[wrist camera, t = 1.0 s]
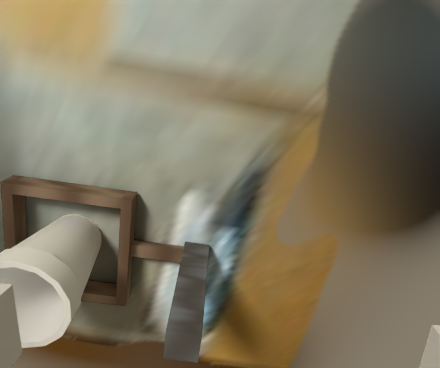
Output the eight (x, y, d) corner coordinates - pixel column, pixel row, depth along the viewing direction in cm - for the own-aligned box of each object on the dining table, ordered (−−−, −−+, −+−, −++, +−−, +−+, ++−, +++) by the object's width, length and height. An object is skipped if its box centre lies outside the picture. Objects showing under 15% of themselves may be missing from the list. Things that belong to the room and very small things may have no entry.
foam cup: (81, 188, 41) (21, 242, 29) (129, 246, 44) (92, 319, 31) (22, 227, 43) (-58, 293, 31) (72, 280, 45) (16, 362, 33)
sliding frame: (19, 279, 45) (-74, 379, 31) (13, 175, 40) (-101, 237, 26) (200, 302, 46) (190, 409, 32) (215, 203, 41) (211, 277, 27)
